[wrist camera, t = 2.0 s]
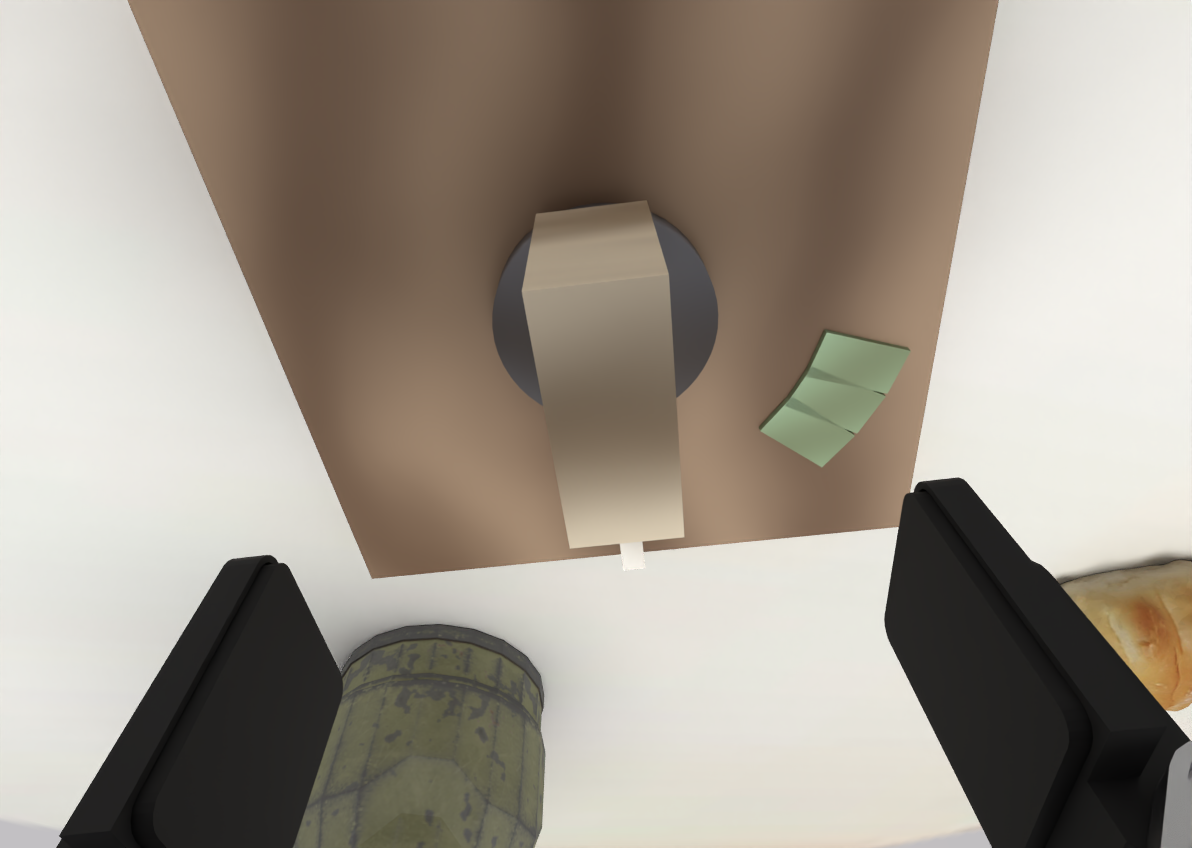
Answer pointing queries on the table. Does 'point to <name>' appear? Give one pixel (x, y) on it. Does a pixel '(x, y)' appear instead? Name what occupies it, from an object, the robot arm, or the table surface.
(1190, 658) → the pastry
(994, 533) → the robot arm
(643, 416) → the knob
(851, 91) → the wooden board
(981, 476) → the table surface
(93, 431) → the table surface
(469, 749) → the thermos
